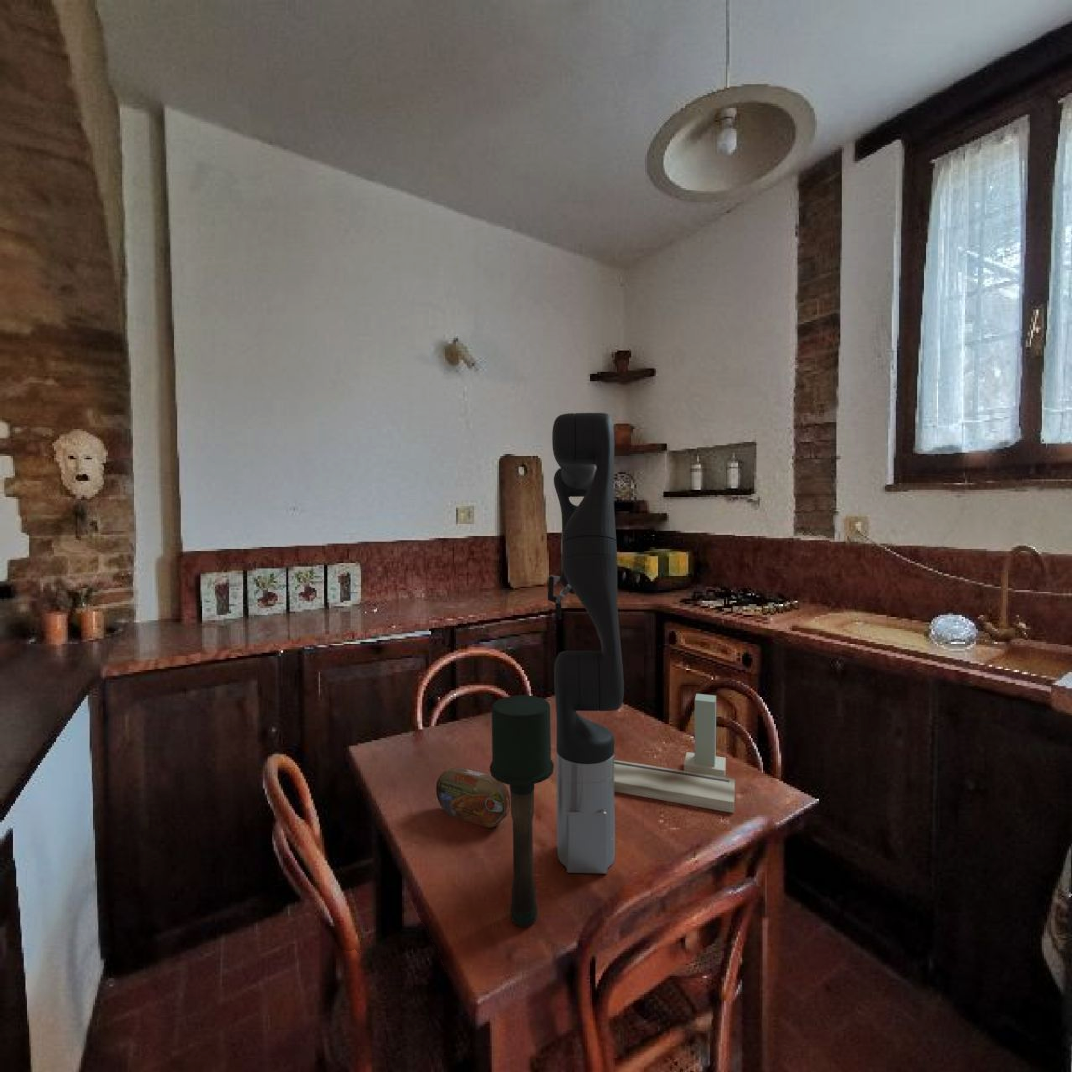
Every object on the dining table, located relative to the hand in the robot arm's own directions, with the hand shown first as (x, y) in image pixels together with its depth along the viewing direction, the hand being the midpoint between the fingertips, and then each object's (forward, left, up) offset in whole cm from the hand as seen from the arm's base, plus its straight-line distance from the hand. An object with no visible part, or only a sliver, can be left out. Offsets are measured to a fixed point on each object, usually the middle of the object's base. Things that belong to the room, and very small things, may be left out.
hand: (577, 618), depth 131 cm
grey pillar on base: (-17, -26, -29) cm, 43 cm away
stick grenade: (-59, +9, -29) cm, 66 cm away
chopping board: (-24, -16, -29) cm, 41 cm away
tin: (-35, +20, -29) cm, 50 cm away
